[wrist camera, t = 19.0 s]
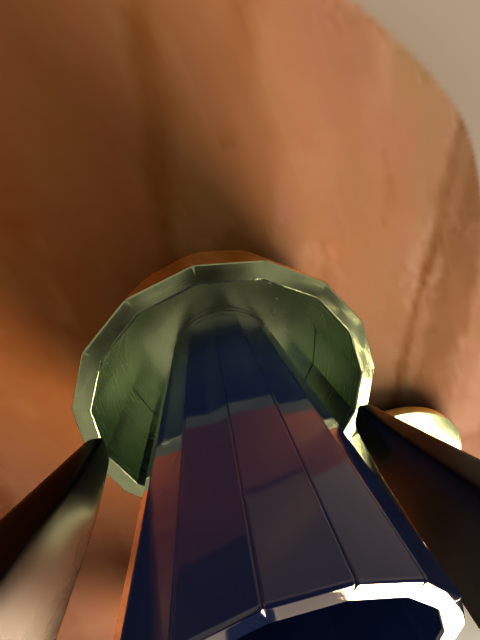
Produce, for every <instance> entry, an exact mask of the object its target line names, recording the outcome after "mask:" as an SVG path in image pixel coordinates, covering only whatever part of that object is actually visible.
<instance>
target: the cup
mask: <svg viewBox="0 0 480 640" xmlns="http://www.w3.org/2000/svg"><path fill="white" fill-rule="evenodd" d="M464 622H465V617H464V610H463V603H462V597H461V594H460V592H459V591H458V590H457V588H456V587H455V586H454V584H453V583H452V581H451V580H450V579H449V577H448V576H447V574H446V573H445V572H444V570H443V569H442V568H441V566H440V565H439V563H438V562H437V561H436V559H435V558H434V557H433V555H432V554H431V552H430V551H429V550H428V548H427V547H426V545H425V544H424V543H423V541H422V540H421V539H420V537H419V536H418V534H417V533H416V532H415V530H414V529H413V527H412V526H411V525H410V523H409V522H408V521H407V519H406V518H405V516H404V515H403V514H402V512H401V511H400V510H399V508H398V507H397V505H396V504H395V503H394V501H393V500H392V498H391V497H390V496H389V494H388V493H387V492H386V490H385V489H384V487H383V486H382V485H381V483H380V482H379V481H378V479H377V478H376V476H375V475H374V474H373V472H372V471H371V469H370V468H369V467H368V465H367V464H366V463H365V461H364V460H363V458H362V457H361V456H360V454H359V453H358V451H357V450H356V449H355V447H354V446H353V445H352V443H351V442H350V440H349V439H348V438H347V436H346V435H345V434H344V432H343V431H342V429H341V428H340V427H339V425H338V424H337V422H336V421H335V420H334V418H333V417H332V416H331V414H330V413H329V411H328V410H327V409H326V407H325V406H324V405H323V403H322V402H321V400H320V399H319V398H318V396H317V395H316V393H315V392H314V391H313V389H312V388H311V387H310V385H309V384H308V382H307V381H306V380H305V378H304V377H303V375H302V374H301V373H300V371H299V370H298V369H297V367H296V366H295V364H294V363H293V362H292V360H291V359H290V358H289V356H288V355H287V353H286V352H285V351H284V349H283V348H282V346H281V345H280V344H279V342H278V341H277V340H276V338H275V337H274V335H273V334H272V333H271V332H270V331H269V330H268V329H267V328H266V326H265V325H264V324H263V323H262V322H260V321H259V320H257V319H256V318H254V317H252V316H250V315H248V314H245V313H242V312H237V311H219V312H214V313H210V314H207V315H205V316H202V317H200V318H198V319H197V320H195V321H193V322H192V323H191V324H190V325H188V326H187V327H186V328H185V329H184V330H183V332H182V333H181V334H180V336H179V337H178V339H177V341H176V343H175V345H174V348H173V352H172V356H171V360H170V363H169V368H168V373H167V378H166V383H165V388H164V393H163V398H162V403H161V408H160V412H159V417H158V422H157V427H156V432H155V437H154V442H153V447H152V452H151V457H150V462H149V467H148V472H147V477H146V481H145V486H144V491H143V496H142V501H141V506H140V511H139V516H138V521H137V526H136V531H135V536H134V541H133V546H132V550H131V555H130V560H129V565H128V570H127V575H126V580H125V585H124V590H123V595H122V600H121V605H120V610H119V615H118V620H117V624H116V629H115V634H114V639H113V640H454V639H455V638H456V636H457V635H458V633H459V632H460V630H461V628H462V627H463V625H464Z"/></svg>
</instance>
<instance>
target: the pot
mask: <svg viewBox="0 0 480 640" xmlns="http://www.w3.org/2000/svg"><path fill="white" fill-rule="evenodd" d="M219 311H237V312H242V313H245V314H248V315H250V316H252V317H254V318H256V319H257V320H259V321H260V322H262V323H263V324H264V325H265V326H266V328H267V329H268V330H269V331H270V332H271V333H272V334H273V335H274V337H275V338H276V340H277V341H278V342H279V344H280V345H281V346H282V348H283V349H284V351H285V352H286V353H287V355H288V356H289V358H290V359H291V360H292V362H293V363H294V364H295V366H296V367H297V369H298V370H299V371H300V373H301V374H302V375H303V377H304V378H305V380H306V381H307V382H308V384H309V385H310V387H311V388H312V389H313V391H314V392H315V393H316V395H317V396H318V398H319V399H320V400H321V402H322V403H323V405H324V406H325V407H326V409H327V410H328V411H329V413H330V414H331V416H332V417H333V418H334V420H335V421H336V422H337V424H338V425H339V427H340V428H341V429H342V431H343V432H344V434H345V435H346V436H347V438H348V439H349V440H350V438H351V436H352V435H353V433H354V431H355V430H356V427H355V418H356V414H357V409H358V407H359V406H360V405H366V404H368V401H369V396H370V390H371V385H372V380H373V374H374V367H375V366H374V363H373V359H372V355H371V351H370V347H369V344H368V340H367V336H366V332H365V328H364V325H363V322H362V321H361V320H360V318H359V317H358V316H357V315H356V314H355V313H354V312H353V311H352V310H351V309H350V308H349V307H348V305H347V304H346V303H345V302H344V301H343V300H342V299H341V298H340V297H339V296H338V295H337V294H336V293H335V291H334V290H333V289H332V288H331V287H330V286H329V285H328V284H327V283H325V282H324V281H322V280H319V279H317V278H315V277H312V276H310V275H307V274H305V273H302V272H300V271H297V270H295V269H293V268H290V267H288V266H285V265H283V264H280V263H277V262H275V261H272V260H269V259H267V258H264V257H261V256H259V255H256V254H253V253H251V252H248V251H245V250H216V251H208V252H195V253H192V254H190V255H188V256H186V257H184V258H182V259H179V260H177V261H175V262H172V263H171V264H169V265H167V266H166V267H164V268H162V269H160V270H158V271H156V272H154V273H152V274H150V275H149V276H148V277H147V278H146V279H145V280H144V281H143V282H142V283H141V284H140V285H139V286H137V287H136V288H135V289H134V290H133V291H132V292H131V293H130V294H129V295H128V296H127V297H126V298H125V299H124V300H123V301H122V303H121V304H120V305H119V306H118V308H117V309H116V310H115V311H114V313H113V314H112V315H111V316H110V318H109V319H108V320H107V321H106V323H105V324H104V325H103V326H102V328H101V329H100V330H99V331H98V333H97V334H96V335H95V336H94V338H93V339H92V340H91V341H90V343H89V344H88V345H87V346H86V348H85V349H84V350H83V352H82V354H81V360H80V365H79V371H78V377H77V382H76V388H75V393H74V399H73V404H72V410H73V414H74V417H75V420H76V422H77V425H78V428H79V431H80V433H81V436H82V439H83V441H84V443H85V442H86V441H88V440H90V439H95V438H103V439H104V440H105V443H106V447H107V451H108V454H109V465H108V470H107V475H108V476H109V477H110V478H112V479H113V480H114V481H115V482H116V483H117V484H118V485H119V486H120V487H121V488H123V489H124V490H125V491H127V492H129V493H131V494H134V495H137V496H139V497H142V496H143V491H144V486H145V481H146V477H147V472H148V467H149V462H150V457H151V452H152V447H153V442H154V437H155V432H156V427H157V422H158V417H159V412H160V408H161V403H162V398H163V393H164V388H165V383H166V378H167V373H168V368H169V363H170V360H171V356H172V352H173V348H174V345H175V343H176V341H177V339H178V337H179V336H180V334H181V333H182V332H183V330H184V329H185V328H186V327H187V326H188V325H190V324H191V323H192V322H193V321H195V320H197V319H198V318H200V317H202V316H205V315H207V314H210V313H214V312H219Z"/></svg>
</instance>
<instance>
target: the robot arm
mask: <svg viewBox="0 0 480 640" xmlns="http://www.w3.org/2000/svg"><path fill="white" fill-rule="evenodd" d="M355 427H356V430H357V432H358V434H359V436H360V438H361V440H362V441H363V443H364V445H365V447H366V449H367V451H368V453H369V455H370V457H371V459H372V461H373V462H374V464H375V466H376V468H377V470H378V471H379V473H380V475H381V476H382V478H383V479H384V481H385V483H386V484H387V486H388V487H389V489H390V490H391V492H392V493H393V495H394V497H395V498H396V500H397V501H398V503H399V504H400V506H401V508H402V509H403V511H404V512H405V514H406V515H407V517H408V519H409V520H410V522H411V523H412V525H413V526H414V528H415V529H416V531H417V533H418V534H419V536H420V537H421V539H422V540H423V542H424V544H425V545H426V547H427V548H428V550H429V551H430V552H431V554H432V555H433V557H434V558H435V559H436V561H437V562H438V563H439V565H440V566H441V568H442V569H443V570H444V572H445V573H446V574H447V576H448V577H449V579H450V580H451V581H452V583H453V584H454V586H455V587H456V588H457V590H458V591H459V592H460V594H461V597H462V603H463V605H464V606H465V607H466V609H467V611H468V612H469V614H470V615H471V617H472V618H473V620H474V621H475V623H476V625H477V626H478V628H479V630H480V459H478V458H476V457H474V456H472V455H470V454H468V453H466V452H464V451H462V450H460V449H458V448H456V447H454V446H452V445H450V444H448V443H446V442H444V441H442V440H440V439H438V438H436V437H434V436H432V435H430V434H428V433H426V432H424V431H422V430H420V429H418V428H416V427H414V426H412V425H410V424H408V423H406V422H404V421H402V420H400V419H399V418H397V417H395V416H393V415H391V414H389V413H387V412H385V411H383V410H381V409H379V408H377V407H375V406H373V405H370V404H366V405H360V406H359V407H358V409H357V414H356V418H355ZM108 465H109V454H108V451H107V447H106V443H105V440H104V439H103V438H95V439H90V440H88V441H86V442H85V443H84V444H83V445H82V446H81V447H80V448H79V449H78V450H77V451H75V452H74V453H73V454H72V455H71V456H70V457H69V458H68V459H67V460H66V461H65V462H63V463H62V464H61V465H60V466H59V467H58V468H57V469H56V470H55V471H54V472H52V473H51V474H50V475H49V476H48V477H47V478H46V479H45V480H44V481H43V482H42V483H40V484H39V485H38V486H37V487H36V488H35V489H34V490H33V491H32V492H31V493H29V494H28V495H27V496H26V497H25V498H24V499H23V500H22V501H21V502H20V503H19V504H17V505H16V506H15V507H14V508H13V509H12V510H11V511H10V512H9V513H8V514H6V515H5V516H4V517H3V518H2V519H1V520H0V640H56V638H57V635H58V632H59V629H60V626H61V623H62V620H63V617H64V614H65V611H66V608H67V605H68V602H69V599H70V596H71V593H72V590H73V587H74V584H75V581H76V578H77V575H78V572H79V569H80V566H81V563H82V560H83V557H84V554H85V551H86V548H87V545H88V542H89V539H90V536H91V533H92V530H93V527H94V524H95V520H96V517H97V513H98V509H99V504H100V500H101V496H102V491H103V487H104V483H105V478H106V474H107V470H108Z"/></svg>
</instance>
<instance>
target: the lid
mask: <svg viewBox="0 0 480 640" xmlns="http://www.w3.org/2000/svg"><path fill="white" fill-rule="evenodd" d="M385 412H387V413H389V414H391V415H393V416H395V417H397V418H399V419H400V420H402V421H404V422H406V423H408V424H410V425H412V426H414V427H416V428H418V429H420V430H422V431H424V432H426V433H428V434H430V435H432V436H434V437H436V438H438V439H440V440H442V441H444V442H446V443H448V444H450V445H452V446H454V447H456V448H458V449H460V450H461V437H460V434H459V431H458V429H457V428H456V426H455V425H454V423H453V422H451V421H450V420H449V419H448V418H446V417H445V416H444V415H443V414H441V413H439V412H437V411H435V410H432V409H429V408H425V407H411V406H409V407H400V408H395V409H391V410H387V411H385ZM350 442H351V443H352V445H353V446H354V447H355V449H356V450H357V451H358V453H359V454H360V456H361V457H362V458H363V460H364V461H365V463H366V464H367V465H368V467H369V468H370V469H371V471H372V472H373V474H374V475H375V476H376V478H377V479H378V481H379V482H380V483H381V485H382V486H383V487H384V489H385V490H386V492H387V493H388V494H389V496H390V497H391V498H392V500H393V501H394V503H395V504H396V505H397V507H398V508H399V510H400V511H401V512H402V514H403V515H404V516H405V518H406V519H407V521H408V522H409V523H410V525H411V526H412V527H413V529H414V530H415V532H416V533H417V531H416V529H415V528H414V526H413V525H412V523H411V522H410V520H409V519H408V517H407V515H406V514H405V512H404V511H403V509H402V508H401V506H400V504H399V503H398V501H397V500H396V498H395V497H394V495H393V493H392V492H391V490H390V489H389V487H388V486H387V484H386V483H385V481H384V479H383V478H382V476H381V475H380V473H379V471H378V470H377V468H376V466H375V464H374V462H373V461H372V459H371V457H370V455H369V453H368V451H367V449H366V447H365V445H364V443H363V441H362V440H361V438H360V436H359V434H358V432H357V430H355V431H354V433H353V435H352V436H351V438H350ZM417 534H418V533H417ZM418 536H419V534H418ZM419 537H420V536H419ZM420 539H421V537H420ZM421 540H422V539H421ZM422 541H423V540H422ZM423 543H424V542H423Z"/></svg>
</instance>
